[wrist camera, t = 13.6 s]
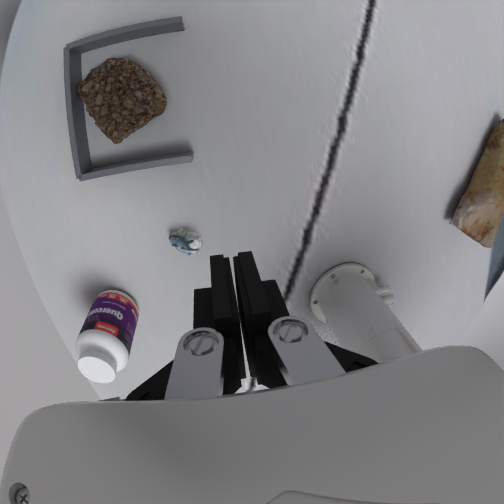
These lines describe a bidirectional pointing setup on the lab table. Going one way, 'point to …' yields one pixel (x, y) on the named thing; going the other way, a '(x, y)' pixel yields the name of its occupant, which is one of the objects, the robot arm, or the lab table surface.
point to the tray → (77, 107)
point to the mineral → (484, 194)
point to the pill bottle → (107, 336)
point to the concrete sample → (121, 97)
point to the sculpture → (185, 241)
